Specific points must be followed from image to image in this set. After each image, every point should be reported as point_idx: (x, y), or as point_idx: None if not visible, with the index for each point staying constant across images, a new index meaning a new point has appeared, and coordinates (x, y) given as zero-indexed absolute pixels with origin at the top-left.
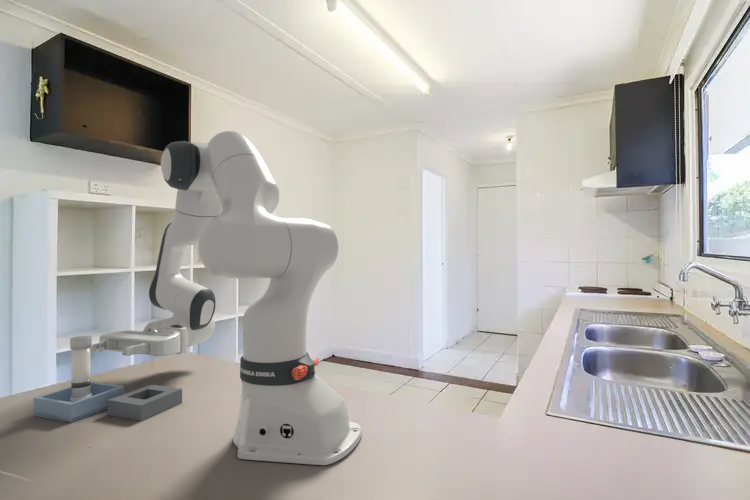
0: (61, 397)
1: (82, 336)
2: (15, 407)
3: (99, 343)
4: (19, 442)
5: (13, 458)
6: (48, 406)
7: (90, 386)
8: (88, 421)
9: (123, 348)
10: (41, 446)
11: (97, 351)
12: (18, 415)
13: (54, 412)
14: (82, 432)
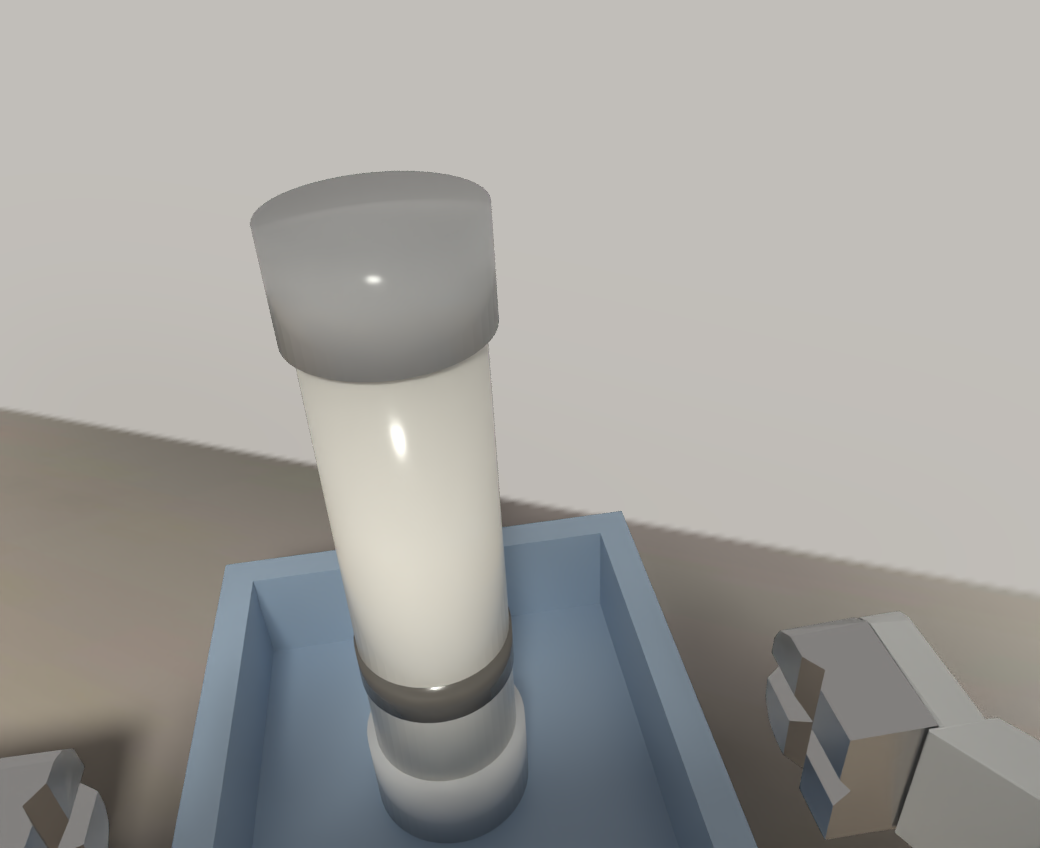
0: (635, 678)
1: (432, 222)
2: (928, 605)
3: (884, 688)
4: (298, 490)
5: (167, 451)
6: None
7: (397, 729)
8: (179, 724)
9: (42, 753)
10: (152, 514)
11: (773, 720)
12: (722, 574)
13: None
14: (72, 642)
